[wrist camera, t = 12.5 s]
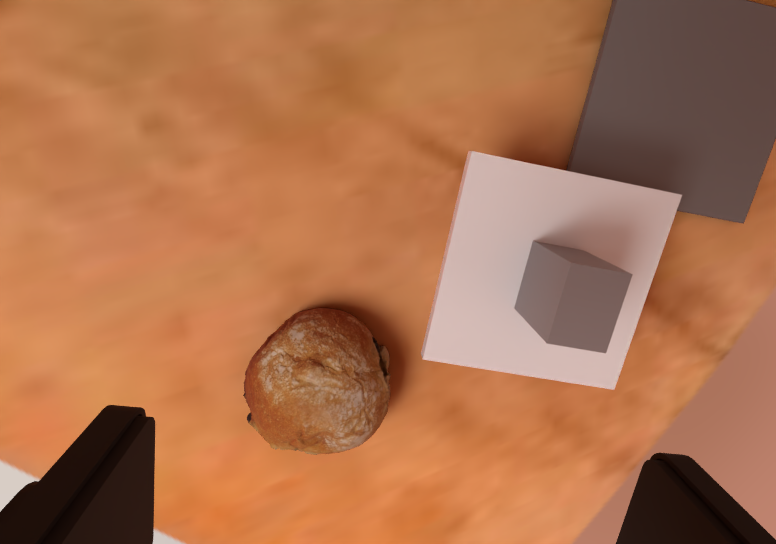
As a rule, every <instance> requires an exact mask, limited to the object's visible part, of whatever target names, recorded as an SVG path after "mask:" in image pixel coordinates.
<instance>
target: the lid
mask: <svg viewBox="0 0 776 544" xmlns="http://www.w3.org/2000/svg"><path fill="white" fill-rule="evenodd" d="M681 197H682V195H680V194H675V193H671V192H666V191H661V190H656V189H651V188H647V187H642V186H637V185H632V184H627V183H623V182H618V181H613V180H608V179H604V178H599V177H594V176H589V175H584V174H580V173H575V172H570V171H565V170H560V169H556V168H551V167H546V166H541V165H536V164H532V163H527V162H522V161H517V160H512V159H508V158H503V157H498V156H493V155H488V154H484V153H479V152H474V151H468V155H467V159H466V163H465V168H464V172H463V176H462V180H461V185H460V189H459V193H458V198H457V202H456V206H455V210H454V215H453V219H452V223H451V228H450V232H449V236H448V240H447V245H446V249H445V253H444V257H443V262H442V266H441V270H440V275H439V279H438V283H437V287H436V292H435V296H434V300H433V305H432V309H431V313H430V317H429V322H428V326H427V330H426V335H425V339H424V343H423V347H422V352H421V355H422V358H423V359H424V360H430V361H436V362H443V363H449V364H455V365H462V366H468V367H474V368H480V369H487V370H493V371H499V372H506V373H512V374H518V375H525V376H531V377H537V378H543V379H550V380H556V381H562V382H569V383H575V384H581V385H588V386H594V387H600V388H606V389H613V390H614V389H615V386H616V383H617V380H618V377H619V375H620V372H621V369H622V366H623V363H624V360H625V357H626V354H627V352H628V349H629V346H630V343H631V340H632V337H633V334H634V332H635V329H636V326H637V323H638V320H639V317H640V314H641V312H642V309H643V306H644V303H645V300H646V297H647V294H648V291H649V289H650V286H651V283H652V280H653V277H654V274H655V271H656V269H657V266H658V263H659V260H660V257H661V254H662V251H663V248H664V246H665V243H666V240H667V237H668V234H669V231H670V228H671V226H672V223H673V220H674V217H675V214H676V211H677V208H678V206H679V203H680V200H681Z"/></svg>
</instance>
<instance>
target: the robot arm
mask: <svg viewBox="0 0 776 544" xmlns="http://www.w3.org/2000/svg"><path fill="white" fill-rule="evenodd" d="M154 463H155V420H154V418H153V417H146V413H145V410H144V409H143V408H139V407H128V406H116V405H108V406H106V407H105V408H104V409H103V410H102V411H101V412H100V413H99V414H98V416H97V417H96V418H95V419H94V420H93V421H92V422H91V423H90V425H89V426H88V427H87V428H86V429H85V430H84V431H83V432H82V434H81V435H80V436H79V437H78V438H77V439H76V440H75V441H74V443H73V444H72V445H71V446H70V447H69V448H68V449H67V450H66V452H65V453H64V454H63V455H62V456H61V457H60V458H59V460H58V461H57V462H56V463H55V464H54V465H53V466H52V467H51V469H50V470H49V471H48V472H47V473H46V474H45V475H44V476H43V478H42V479H41V480H40V481H39V482H37V481H34V482H32V483H29V484H27V485H26V486H25V487H24V488H23V489H21V490H20V491H19V492H18V493H17V494H16V495H15V496H14V498H13V499H12V500H11V501H10V502H9V503H8V504H7V505H6V506H5V507H4V508H3V509H2V511H1V512H0V544H152V543H153V523H154ZM616 544H776V540H775V539H774V538H773V537H772V536H771V535H770V534H769V533H768V532H767V531H766V530H765V529H764V528H763V527H762V526H761V525H760V524H759V523H758V522H757V521H756V520H755V519H754V518H753V517H752V516H751V515H749V513H748V512H747V511H745V509H743V507H741V506H740V505H739V504H738V503H737V502H736V501H735V500H734V499H733V498H732V497H731V496H730V495H729V494H728V493H727V492H726V491H725V490H724V489H723V488H722V487H721V486H720V485H719V484H718V483H717V482H716V481H715V480H713V478H712V477H711V476H710V475H709V474H708V473H707V472H705V471H704V469H703V468H701V467H700V466H699V465H698V464H697V463H696V462H695V461H694V460H693V459H692V458H690V457H689V456H686V455H679V454H667V453H656V454H654V455H653V456H652V457H651V459H650V460H647V461H646V462H645V463H644V465H643V467H642V470H641V472H640V475H639V478H638V481H637V484H636V487H635V490H634V493H633V496H632V498H631V501H630V504H629V507H628V510H627V513H626V516H625V519H624V522H623V525H622V527H621V531H620V533H619V536H618V539H617V542H616Z"/></svg>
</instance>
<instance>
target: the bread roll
mask: <svg viewBox="0 0 776 544" xmlns="http://www.w3.org/2000/svg"><path fill="white" fill-rule="evenodd" d="M388 366H389V353H388V350H387V349H386V347H385V346H379V345H378V343H377V341H376V340H375V338H374V337H373V336H372V334H371V332H370V331H369V330H368V329H367V327H366V325H365V324H364V323H362V322H360V321H359V320H358V319H357V318H355V317H354V316H353V315H351V314H349V313H347V312H344V311H341V310H335V309H330V308H317V309H311V310H305V311H301V312H299V313H296V314H294V315H293V316H292V317H291V318H290V319H288V320H286V321H285V322H284V324H283V325H281V326H280V327H279V329H278V330H277V331H276V332H274V333H273V334H271V335H270V336H269V337H268V338H267V340H266V341H265V343H264V344H263V345H262V346H261V347H260V349H259V350H258V351H257V352H256V353H255V355H254V356H253V357H252V359H251V361H250V363H249V365H248V368H247V370H246V373H245V375H246V379H245V381H244V391H245V394H244V395H243V396H244V397H245V399H246V402H247V403H248V406H249V407H250V410H251V413H249V415H248V416H247V420H248V423H249V424H250V425H251V426H253V427H254V428H255V429H256V430H257V431H258V432H259V433H260V435H261V436H262V437H263V438H264V439H265V440H266V441H267V442H268V443H269V444H270V446H271V448H273V449H281V450H295V451H296V450H299V451H304V452H305V453H307V454H313V455H317V454H329V453H339V452H343V451H346V450H349V449H352V448H355V447H357V446H360V445H361V444H363V443H364V442H365V441H367V440H368V439H369V438H370V437H371V436H372V435H373V434H374V433H375V432H376V430H377V429H378V428H379V426H380V425H381V423H382V421H383V419H384V417H385V415H386V414H387V412H388V402H389V399H390V385H389V379H390V375H391V374H389V373H388V372H387V371H388Z"/></svg>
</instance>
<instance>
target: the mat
mask: <svg viewBox="0 0 776 544" xmlns="http://www.w3.org/2000/svg"><path fill="white" fill-rule="evenodd" d="M775 139H776V7H771V6H767V5H763V4H759V3H755V2H751V1H747V0H613V2H612V6H611V9H610V13H609V17H608V20H607V24H606V28H605V31H604V35H603V39H602V42H601V46H600V49H599V53H598V57H597V60H596V64H595V68H594V71H593V75H592V79H591V82H590V86H589V89H588V93H587V97H586V100H585V104H584V108H583V111H582V115H581V119H580V122H579V126H578V129H577V133H576V137H575V140H574V144H573V148H572V151H571V155H570V158H569V162H568V166H567V169H566V171H570V172H575V173H580V174H584V175H589V176H594V177H599V178H604V179H608V180H613V181H618V182H623V183H627V184H632V185H637V186H642V187H647V188H651V189H656V190H661V191H666V192H671V193H675V194H680V195H682V197H681V200H680V203H679V206H678V208H677V211H681V212H686V213H692V214H697V215H702V216H707V217H712V218H718V219H723V220H728V221H733V222H738V223H744V222H745V219H746V216H747V214H748V211H749V208H750V206H751V203H752V200H753V198H754V195H755V192H756V190H757V187H758V184H759V182H760V179H761V176H762V174H763V171H764V168H765V166H766V163H767V160H768V158H769V155H770V152H771V150H772V147H773V144H774V142H775Z"/></svg>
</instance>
